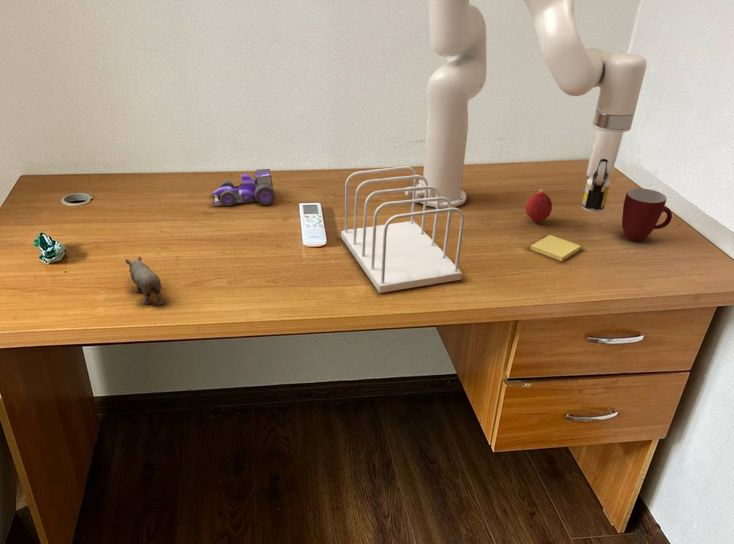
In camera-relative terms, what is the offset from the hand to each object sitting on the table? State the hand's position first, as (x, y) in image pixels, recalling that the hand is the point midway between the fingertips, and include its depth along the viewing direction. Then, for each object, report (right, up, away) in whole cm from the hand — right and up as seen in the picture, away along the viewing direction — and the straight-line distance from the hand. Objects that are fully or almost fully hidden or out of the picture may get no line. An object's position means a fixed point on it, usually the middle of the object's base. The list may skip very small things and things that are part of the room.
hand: (593, 202), depth 147 cm
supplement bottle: (0, -1, +1) cm, 2 cm away
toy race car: (-80, +4, +17) cm, 82 cm away
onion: (-11, -3, +7) cm, 13 cm away
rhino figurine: (-94, -21, -19) cm, 98 cm away
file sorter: (-44, -14, -8) cm, 47 cm away
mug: (+10, -8, +1) cm, 13 cm away
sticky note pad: (-10, -11, -4) cm, 15 cm away
